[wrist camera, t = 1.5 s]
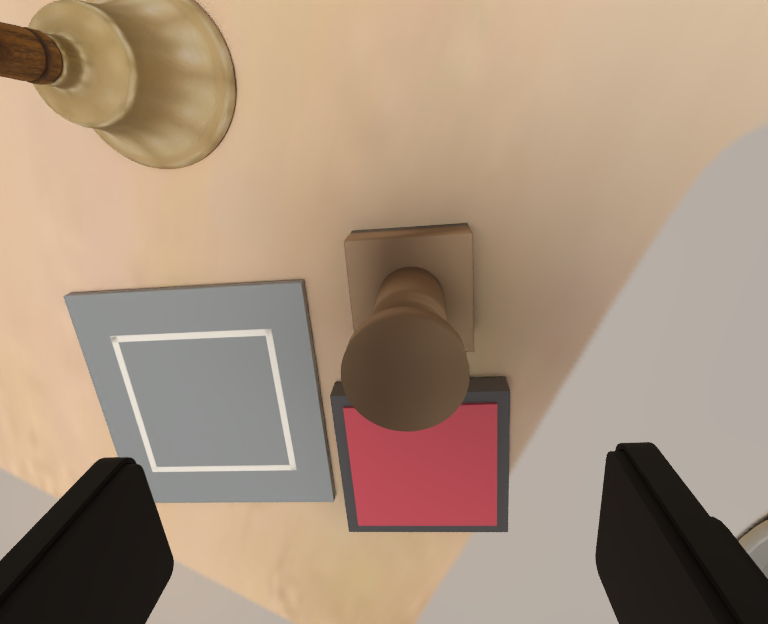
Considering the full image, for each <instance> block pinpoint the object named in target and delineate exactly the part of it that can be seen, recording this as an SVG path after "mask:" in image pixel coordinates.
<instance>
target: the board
mask: <svg viewBox="0 0 768 624" xmlns="http://www.w3.org/2000/svg"><path fill="white" fill-rule="evenodd" d="M64 299H65V302H66V305H67V308H68V311H69V314H70V317H71V320H72V323H73V326H74V329H75V331H76V334H77V337H78V340H79V343H80V346H81V349H82V352H83V355H84V358H85V361H86V364H87V367H88V370H89V373H90V376H91V379H92V381H93V384H94V387H95V390H96V393H97V396H98V399H99V402H100V405H101V408H102V411H103V414H104V417H105V420H106V423H107V426H108V428H109V431H110V434H111V437H112V440H113V443H114V446H115V449H116V452H117V455H118V457H130V458H133V459H134V460H135V461H136V463H137V464H139V465H141V466H142V468H143V469H144V472H145V475H146V478H147V481H148V484H149V487H150V490H151V493H152V496H153V499H154V502H155V503H206V502H334V500H335V496H336V494H335V488H334V481H333V474H332V467H331V461H330V454H329V447H328V440H327V434H326V427H325V420H324V413H323V407H322V400H321V393H320V386H319V380H318V373H317V366H316V359H315V353H314V346H313V339H312V332H311V326H310V319H309V312H308V305H307V299H306V292H305V285H304V279H303V280H286V281H268V282H251V283H233V284H216V285H198V286H181V287H163V288H146V289H128V290H111V291H93V292H75V293H69V294H67V295H65V296H64Z"/></svg>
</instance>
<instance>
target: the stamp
mask: <svg viewBox="0 0 768 624" xmlns="http://www.w3.org/2000/svg"><path fill="white" fill-rule="evenodd" d="M344 247H345V256H346V265H347V274H348V283H349V291H350V300H351V309H352V318H353V327H354V333H353V335H352V337H351V339H350V341H349V344H348V346H347V349H346V352H345V354H344V357H343V361H342V366H341V380H342V385H343V389H344V391H345V394H346V396H347V398H348V400H349V401H350V403H351V404H352V406H353V407H354V408H355V409H356V410H357V411H358V412H359V413H360V414H361V415H362V416H363V417H364V418H366V419H367V420H369V421H370V422H372V423H374V424H376V425H378V426H381V427H383V428H386V429H390V430H395V431H405V432H410V431H419V430H424V429H428V428H431V427H433V426H436V425H438V424H440V423H442V422H443V421H445V420H446V419H448V418H449V417H450V416H451V415H452V414H453V413H454V412H455V411H456V410H457V409H458V408H459V406H460V405H461V404H462V402H463V400H464V398H465V396H466V393H467V391H468V386H469V378H470V374H469V365H468V360H467V355H466V352H473V351H474V312H473V249H472V232H471V230H470V228H469V226H468V224H467V223H460V224H446V225H431V226H416V227H401V228H386V229H372V230H357V231H352V232H351V233H350V235H349V236H348V237H347V238H346V240H345V241H344Z"/></svg>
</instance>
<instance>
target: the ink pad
mask: <svg viewBox="0 0 768 624" xmlns="http://www.w3.org/2000/svg"><path fill="white" fill-rule="evenodd" d="M330 398H331V406H332V413H333V420H334V427H335V434H336V441H337V448H338V456H339V463H340V470H341V477H342V484H343V491H344V498H345V506H346V513H347V520H348V527H349V532H508V489H509V422H510V390H509V387H508V384H507V381H506V378H505V377H483V378H469V386H468V391H467V393H466V396H465V398H464V400H463V402H462V404H461V405H460V406H459V408H458V409H457V410H456V411H455V412H454V413H453V414H452V415H451V416H450V417H449V418H448V419H446V420H445V421H443V422H442V423H440V424H438V425H436V426H433V427H431V428H428V429H424V430H419V431H410V432H405V431H395V430H390V429H386V428H383V427H381V426H378V425H376V424H374V423H372V422H370V421H369V420H367V419H366V418H364V417H363V416H362V415H361V414H360V413H359V412H358V411H357V410H356V409H355V408H354V407H353V406H352V404H351V403H350V401H349V400H348V398H347V396H346V394H345V391H344V389H343V385H342V382H335V384H334V387H333V390H332V393H331V395H330Z"/></svg>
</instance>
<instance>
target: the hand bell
mask: <svg viewBox="0 0 768 624" xmlns="http://www.w3.org/2000/svg"><path fill="white" fill-rule="evenodd" d="M0 76H2V77H7V78H12V79H17V80H21V81H27V82H30V83H33V84H34V86H35V88H36V90H37V91H38V93H39V94H40V96H41V97H42V99H43V100H44V101H45V102H46V103H47V104H48V106H50V107H51V108H52V109H53V110H54V111H55V112H56V113H57V114H59V115H60V116H62V117H63V118H65V119H66V120H68V121H70V122H72V123H75V124H77V125H80V126H83V127H89V128H93V129H94V130H95V131H96V133H97V134H98V135H99V136H100V137H101V138H102V139H103V140H104V141H105V142H106V143H107V144H108V145H110V146H111V147H112V148H113V149H115V150H116V151H117V152H119V153H120V154H122V155H123V156H125V157H127V158H128V159H130V160H132V161H135V162H137V163H139V164H142V165H145V166H149V167H153V168H160V169H176V168H181V167H185V166H188V165H191V164H194V163H196V162H198V161H200V160H202V159H203V158H205V157H206V156H207V155H209V154H210V153H211V152H212V151H213V150H214V149H215V148H216V146H217V145H218V144H219V143H220V141H221V140H222V139H223V137H224V135H225V134H226V131H227V129H228V127H229V125H230V122H231V119H232V116H233V113H234V107H235V98H236V87H235V77H234V70H233V64H232V61H231V58H230V54H229V51H228V48H227V46H226V44H225V42H224V39H223V37H222V35H221V34H220V32H219V30H218V28H217V27H216V25H215V24H214V23H213V21H212V20H211V18H210V17H209V16H208V15H207V14H206V13H205V11H204V10H203V9H202V8H201V7H200V6H199V5H198V4H197V3H196V2H195V1H194V0H87V1H86V2H84V1H80V0H58V1H54V2H52V3H49V4H47V5H46V6H44V7H42V8H41V9H40V10H39V11H38V12H37V13H36V14H35V15H34V17H33V18H32V20H31V22H30V23H29V26H28V28H27V27H20V26H16V25H12V24H7V23H1V22H0Z"/></svg>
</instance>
